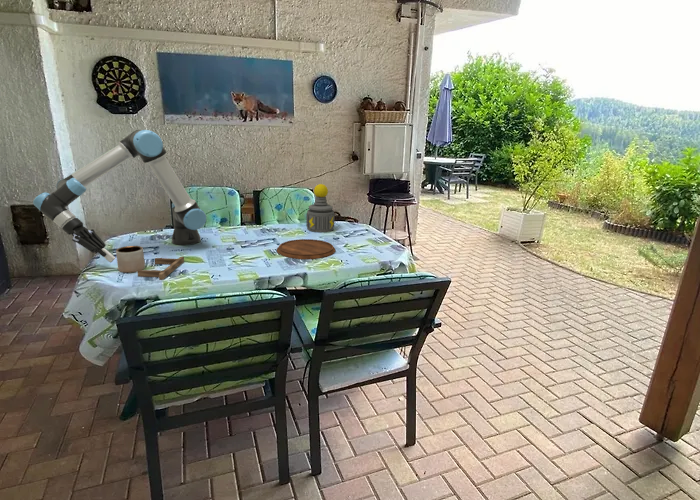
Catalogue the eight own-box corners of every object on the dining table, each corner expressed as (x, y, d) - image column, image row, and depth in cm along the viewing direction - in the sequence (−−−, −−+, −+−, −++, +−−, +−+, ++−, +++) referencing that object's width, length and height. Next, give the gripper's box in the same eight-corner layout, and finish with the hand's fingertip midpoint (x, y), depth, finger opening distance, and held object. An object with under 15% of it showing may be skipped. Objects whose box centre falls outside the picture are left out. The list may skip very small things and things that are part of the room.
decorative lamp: (323, 234, 252) (324, 187, 244) (300, 229, 262) (300, 183, 253) (340, 229, 268) (341, 184, 259) (317, 224, 277) (318, 181, 268)
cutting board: (303, 239, 240) (303, 235, 239) (346, 250, 223) (347, 245, 222) (264, 251, 215) (264, 247, 214) (309, 264, 198) (309, 259, 197)
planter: (127, 275, 174) (124, 254, 172) (113, 269, 180) (110, 249, 177) (150, 268, 183) (148, 248, 180) (136, 263, 189) (134, 244, 186)
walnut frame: (159, 261, 193) (158, 256, 192) (184, 261, 193) (183, 256, 193) (134, 278, 170) (133, 273, 169) (162, 279, 170) (162, 274, 170)
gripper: (73, 225, 182) (115, 260, 187) (53, 232, 169) (99, 270, 175) (83, 214, 180) (125, 250, 186) (64, 220, 168) (109, 259, 173)
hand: (112, 260), depth 180 cm, fingers closed
